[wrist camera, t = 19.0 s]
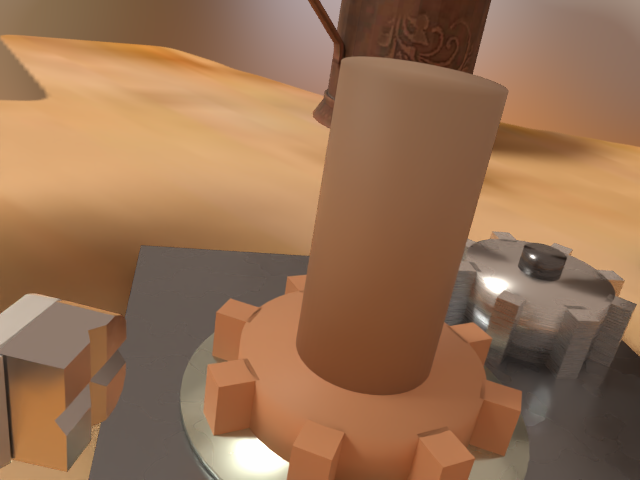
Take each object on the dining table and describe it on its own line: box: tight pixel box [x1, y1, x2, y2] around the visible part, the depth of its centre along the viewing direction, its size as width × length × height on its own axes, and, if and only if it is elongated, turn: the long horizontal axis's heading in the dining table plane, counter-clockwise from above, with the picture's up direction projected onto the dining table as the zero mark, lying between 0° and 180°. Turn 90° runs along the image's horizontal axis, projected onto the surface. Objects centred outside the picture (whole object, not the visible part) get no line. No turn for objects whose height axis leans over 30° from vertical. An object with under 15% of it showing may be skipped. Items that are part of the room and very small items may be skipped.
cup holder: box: [308, 0, 491, 128], centre depth 66 cm, size 18×24×25 cm
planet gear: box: [203, 56, 522, 480], centre depth 21 cm, size 11×11×12 cm
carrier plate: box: [89, 231, 640, 480], centre depth 25 cm, size 24×20×6 cm
